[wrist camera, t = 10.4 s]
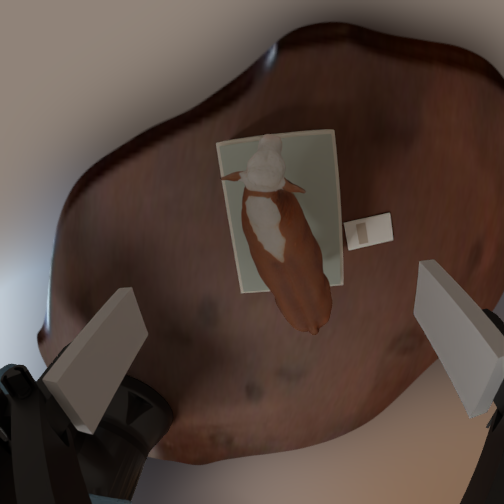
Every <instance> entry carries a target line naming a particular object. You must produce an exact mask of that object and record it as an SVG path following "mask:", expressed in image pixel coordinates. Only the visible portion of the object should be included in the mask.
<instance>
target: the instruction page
mask: <svg viewBox="0 0 504 504" xmlns="http://www.w3.org/2000/svg"><path fill="white" fill-rule="evenodd" d="M344 228H345V234H346V239H347V245H348V250H353V249H357V248H362V247H366V246H370V245H375V244H379V243H383V242H388V241H392V240H393V232H392V224H391V216H390V212H389V213H385V214H380V215H376V216H371V217H367V218H362V219H358V220H353V221H349V222H344Z"/></svg>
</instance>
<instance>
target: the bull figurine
mask: <svg viewBox="0 0 504 504" xmlns="http://www.w3.org/2000/svg"><path fill="white" fill-rule="evenodd" d="M281 151H282V141H281V138H280V137H279V136H276V135H272V134H265V135H264V136H263V137H261V138H260V141H259V144H258V150H257V152H256V153H255V154H254V155H253V156H252V157H251V158H250V159H249V160H248V162H247V169H246V170H245V171H237V172H233V173H231V174H229V175H227V176H224V177H221V178H220V179H221V180H229V181H241V182H243V183H244V184H245V187H244V192H243V197H242V211H241V221H242V229H243V232H244V235H245V237H246V240H247V242H248V245H249V250H250V254H251V256H252V259H253V261H254V263H255V266H256V268H257V271H258V273H259V275H260V277H261V279H262V280H263V282H264V283H265V284H266V286H267V287H268V288H269V290H270V291H271V292H272V293H273V295H274V296H275V301H276V304H277V306H278V308H279V309H280V311H281V312H282V314H283V315H284V317H285V318H286V320H287V321H288V322H289V323H290V324H291V325H292V326H293V327H294V328H295V329H296V330H299V331H302V332H307V331H309V332H310V333H311V334H312V335H316V334H318V332H319V328H320V327H322V326H323V325H325V324H326V323H327V322H328V321H329V318H330V313H331V308H332V298H331V292H330V284H329V280H328V278H327V277H326V275H325V274H324V273H323V258H322V252H321V249H320V246H319V244H318V242H317V241H316V239H315V237H314V236H313V234H312V231H311V229H310V226H309V224H308V222H307V220H306V218H305V216H304V213H303V210H302V208H301V206H300V204H299V202H298V200H297V199H296V197H295V195H294V193H292V192H300V193H306V191H305V190H304V189H303V188H301V187H299V186H298V185H296V184H293V183H291V182H290V181H289V180H287V179H286V178H285V177H284V173H285V171H286V166H285V162H284V160H283V158H282V155H281Z"/></svg>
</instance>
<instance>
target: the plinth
mask: <svg viewBox="0 0 504 504" xmlns="http://www.w3.org/2000/svg"><path fill="white" fill-rule="evenodd" d="M272 135H276V136H279V137H280V138H281V141H282V151H281V155H282V158H283V160H284V162H285V166H286V171H285V173H284V177H285V178H286V179H287V180H289V181H290V182H291V183H293V184H296V185H298V186H299V187H301V188H303V189H304V190H305V191H306V193H300V192H292V193H294V195H295V197H296V199H297V200H298V202H299V204H300V206H301V208H302V210H303V213H304V216H305V218H306V220H307V222H308V224H309V226H310V229H311V231H312V234H313V236H314V237H315V239H316V241H317V242H318V244H319V246H320V249H321V252H322V258H323V273H324V274H325V275H326V277H327V278H328V280H329V284H330V286H337V285H343V240H342V217H341V200H340V185H339V172H338V161H337V150H336V141H335V131H334V130H331V129H320V130H308V131H296V132H286V133H277V134H272ZM263 136H264V135H260V136H253V137H245V138H238V139H232V140H227V141H222V142H218V143H216V148H217V154H218V160H219V166H220V173H221V177H224V176H227V175H229V174H231V173H233V172H237V171H245V170H246V169H247V162H248V160H249V159H250V158H251V157H252V156H253V155H254V154H255V153H256V152H257V150H258V144H259V141H260V138H261V137H263ZM222 185H223V191H224V197H225V203H226V209H227V215H228V221H229V226H230V232H231V238H232V244H233V250H234V255H235V261H236V267H237V272H238V278H239V284H240V289H241V293H252V292H266V291H270V290H269V288H268V287H267V286H266V284H265V283H264V282H263V280H262V279H261V277H260V275H259V273H258V271H257V268H256V266H255V263H254V261H253V259H252V256H251V254H250V250H249V245H248V242H247V240H246V237H245V235H244V232H243V229H242V221H241V211H242V197H243V192H244V187H245V184H244V183H243V182H241V181H229V180H222Z"/></svg>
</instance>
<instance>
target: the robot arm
mask: <svg viewBox="0 0 504 504" xmlns="http://www.w3.org/2000/svg"><path fill="white" fill-rule="evenodd" d="M413 314H414V316H415V317H416V319H417V321H418V322H419V324H420V326H421V327H422V329H423V331H424V332H425V334H426V336H427V338H428V339H429V341H430V343H431V345H432V346H433V348H434V350H435V352H436V353H437V355H438V357H439V359H440V361H441V363H442V364H443V366H444V368H445V370H446V372H447V374H448V376H449V378H450V379H451V381H452V383H453V385H454V387H455V389H456V391H457V393H458V395H459V397H460V399H461V401H462V403H463V405H464V407H465V410H466V412H467V414H468V416H469V418H473V417H476V416H478V415H481V414H484V413H486V412H487V411H488V409H489V408H490V406H491V404H492V402H493V401H494V403H495V404H496V406H497V409H496V411H495V413H494V414H493V416H492V418H491V420H490V421H489V423H488V424H487V426H486V428H489V426H490V425H491V426H490V429H489V432H488V436H487V438H486V441H485V445H484V447H483V450H482V453H481V456H480V458H479V461H478V464H477V466H476V469H475V471H474V474H473V476H472V478H471V481H470V483H469V486H468V487H467V490H466V492H465V494H464V496H463V498H462V501H461V503H460V504H504V323H503V321H502V320H501V319H500V318H499V317H498V316H497V315H496V314H495V313H493V312H491V311H490V310H488V309H483V310H481V309H480V307H479V306H478V305H477V304H476V303H475V302H474V301H473V300H472V299H471V297H470V296H469V295H468V294H467V293H466V292H465V291H464V290H463V289H462V288H461V287H460V286H459V284H458V283H457V282H456V281H455V280H454V279H453V278H452V277H451V276H450V275H449V274H448V273H447V272H446V271H445V270H444V269H443V268H442V267H441V266H440V265H439V264H438V263H437V262H436V261H435V260H434V259H433V260H425V261H419V272H418V281H417V290H416V298H415V306H414V313H413ZM147 336H148V332H147V329H146V326H145V324H144V321H143V318H142V315H141V312H140V309H139V307H138V304H137V301H136V298H135V295H134V292H133V289H132V287H128V288H118V290H117V291H116V292H115V293H114V294H113V295H112V296H111V297H110V298H109V300H108V301H107V302H106V303H105V304H104V305H103V306H102V308H101V309H100V310H99V311H98V312H97V313H96V314H95V316H94V317H93V318H92V319H91V320H90V321H89V322H88V324H87V325H86V326H85V327H84V328H83V330H82V331H81V332H80V333H79V334H78V335H77V337H76V338H75V339H74V340H73V341H72V342H71V343H69V344H68V345H67V346H65V347H64V348H63V349H62V351H61V352H60V353H59V354H58V357H56V358H55V359H54V360H53V363H51V364H50V365H49V367H48V368H47V369H46V370H45V372H44V373H43V374H42V376H41V377H40V378H39V379H38V381H35V380H34V379H33V378H32V376H31V374H30V372H29V371H28V369H27V368H26V367H25V366H24V365H16V364H8V365H6V366H4V367H3V368H1V369H0V504H131V503H132V501H131V500H132V497H133V494H134V492H135V489H136V486H137V484H138V480H139V477H140V475H141V473H142V470H143V467H144V464H145V461H146V459H147V456H148V454H149V452H150V451H151V450H152V449H153V447H154V446H155V445H156V444H157V443H158V442H159V441H160V440H161V438H162V437H163V436H164V435H165V434H166V433H167V432H168V430H169V428H170V426H171V423H172V420H173V413H172V410H171V408H170V406H169V405H168V403H167V402H166V401H165V400H164V399H163V398H162V397H161V396H160V395H159V394H158V393H157V392H156V391H154V390H153V389H152V388H150V387H149V386H147V385H145V384H144V383H142V382H140V381H138V380H136V379H134V378H131V377H128V376H125V374H126V373H127V371H128V369H129V367H130V366H131V364H132V362H133V360H134V359H135V357H136V355H137V353H138V352H139V350H140V348H141V346H142V345H143V343H144V341H145V340H146V338H147Z"/></svg>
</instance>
